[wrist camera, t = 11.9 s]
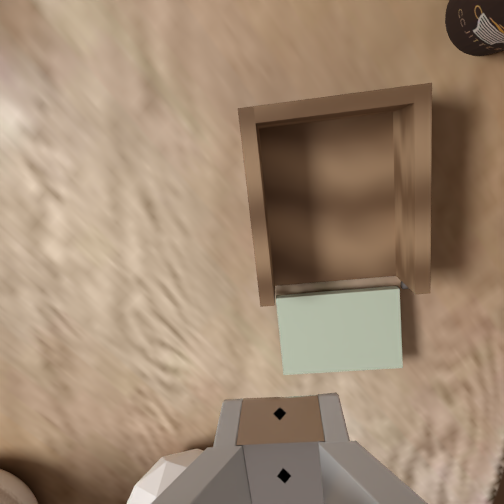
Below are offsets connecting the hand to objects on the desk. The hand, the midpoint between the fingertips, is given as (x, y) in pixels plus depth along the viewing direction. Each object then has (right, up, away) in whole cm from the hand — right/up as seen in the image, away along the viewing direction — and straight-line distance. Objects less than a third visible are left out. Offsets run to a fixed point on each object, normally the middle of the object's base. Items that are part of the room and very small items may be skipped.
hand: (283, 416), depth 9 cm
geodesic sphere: (-7, -22, +34) cm, 41 cm away
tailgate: (+7, +1, +25) cm, 26 cm away
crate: (+6, +10, +24) cm, 27 cm away
